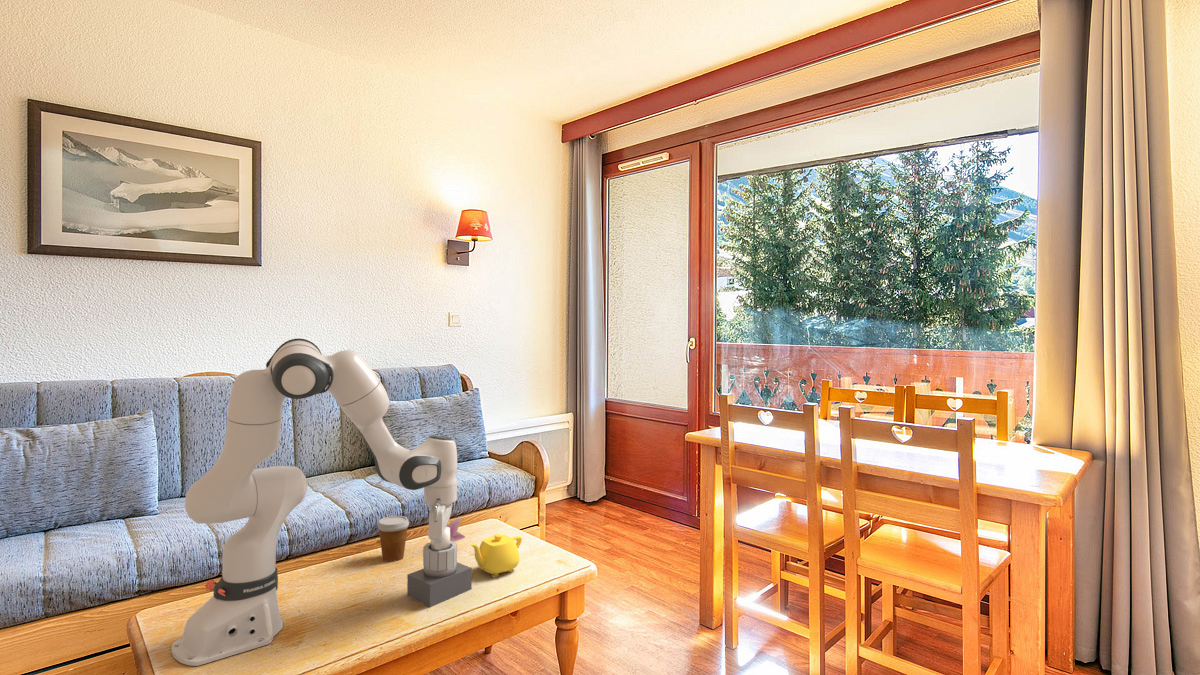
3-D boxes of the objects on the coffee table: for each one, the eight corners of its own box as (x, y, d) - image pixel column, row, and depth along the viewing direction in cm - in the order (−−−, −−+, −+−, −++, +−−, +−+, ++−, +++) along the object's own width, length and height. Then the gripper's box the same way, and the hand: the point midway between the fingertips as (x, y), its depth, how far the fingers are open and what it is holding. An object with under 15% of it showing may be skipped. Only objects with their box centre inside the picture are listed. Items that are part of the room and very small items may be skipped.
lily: (424, 549, 203) (419, 529, 197) (453, 528, 210) (449, 508, 205) (446, 569, 196) (442, 549, 191) (475, 546, 203) (472, 526, 198)
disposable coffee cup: (386, 566, 186) (386, 527, 185) (371, 557, 192) (371, 520, 192) (414, 557, 193) (415, 520, 192) (399, 549, 199) (399, 513, 199)
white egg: (438, 551, 165) (437, 533, 165) (427, 548, 168) (426, 530, 168) (454, 546, 169) (453, 528, 169) (443, 543, 172) (442, 525, 172)
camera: (430, 607, 160) (430, 558, 160) (407, 596, 166) (407, 549, 166) (471, 588, 171) (471, 543, 171) (448, 579, 177) (449, 535, 177)
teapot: (479, 585, 174) (479, 548, 174) (460, 572, 182) (460, 537, 182) (531, 568, 186) (531, 534, 186) (511, 557, 194) (511, 524, 194)
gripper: (447, 505, 158) (447, 558, 158) (456, 484, 178) (455, 530, 179) (422, 506, 157) (422, 558, 158) (433, 484, 177) (433, 531, 178)
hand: (440, 543), depth 168 cm, fingers closed on white egg, 5 cm apart
